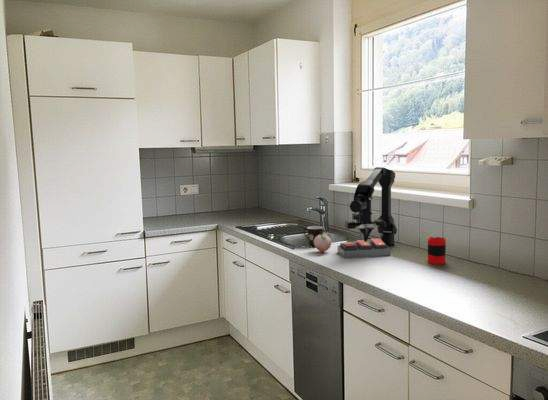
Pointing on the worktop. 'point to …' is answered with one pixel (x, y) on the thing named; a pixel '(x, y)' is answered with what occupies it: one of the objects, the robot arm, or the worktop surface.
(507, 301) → the worktop surface
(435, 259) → the soda can
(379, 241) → the rocker
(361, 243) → the middle rocker
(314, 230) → the coffee mug
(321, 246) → the decorative fruit
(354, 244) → the rocker
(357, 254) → the power strip
